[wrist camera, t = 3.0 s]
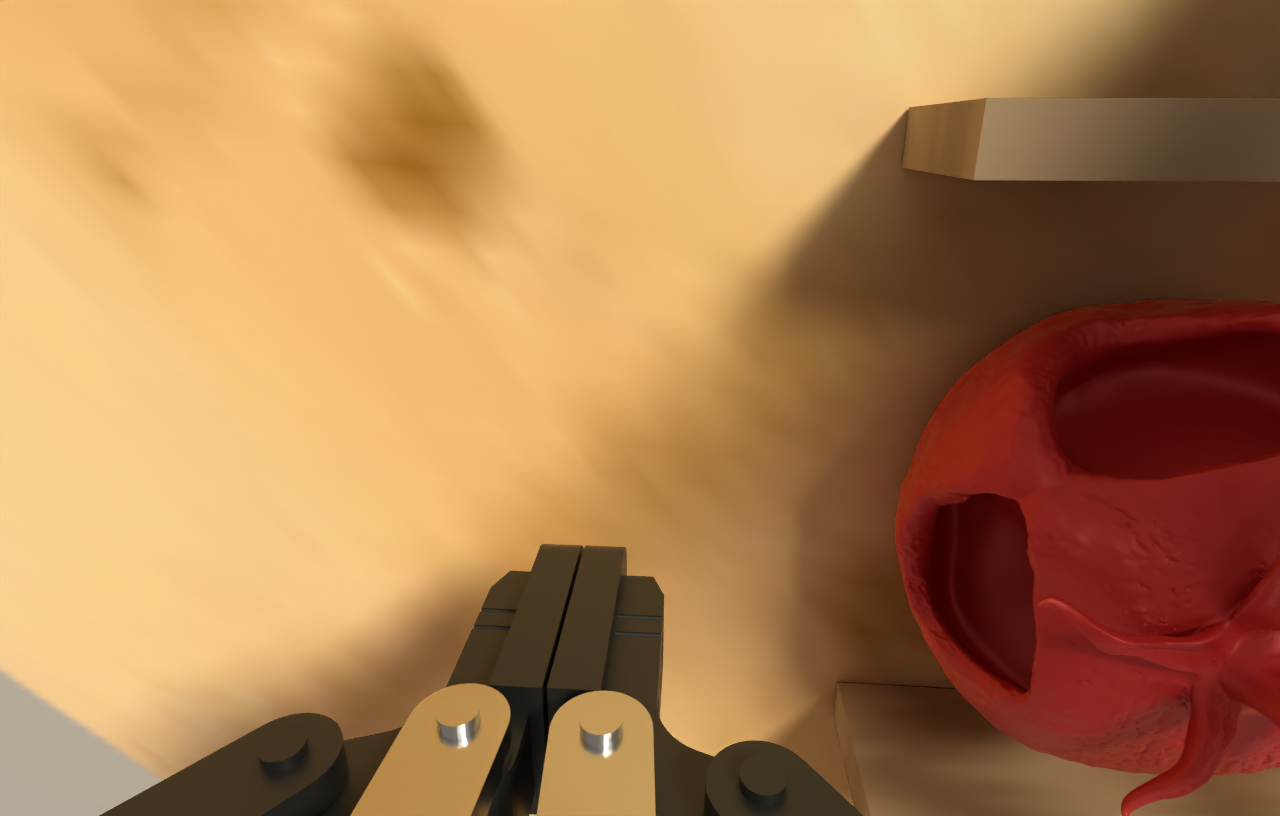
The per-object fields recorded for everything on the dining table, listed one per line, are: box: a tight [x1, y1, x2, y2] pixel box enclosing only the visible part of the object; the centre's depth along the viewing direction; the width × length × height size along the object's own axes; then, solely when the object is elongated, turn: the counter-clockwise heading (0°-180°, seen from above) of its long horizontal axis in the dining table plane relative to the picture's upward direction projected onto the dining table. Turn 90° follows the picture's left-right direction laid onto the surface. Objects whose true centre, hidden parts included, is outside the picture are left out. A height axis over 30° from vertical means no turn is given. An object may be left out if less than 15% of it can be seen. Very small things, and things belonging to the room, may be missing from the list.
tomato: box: [895, 299, 1280, 816], centre depth 13 cm, size 10×10×9 cm
